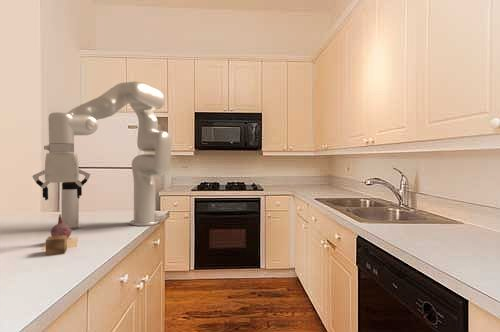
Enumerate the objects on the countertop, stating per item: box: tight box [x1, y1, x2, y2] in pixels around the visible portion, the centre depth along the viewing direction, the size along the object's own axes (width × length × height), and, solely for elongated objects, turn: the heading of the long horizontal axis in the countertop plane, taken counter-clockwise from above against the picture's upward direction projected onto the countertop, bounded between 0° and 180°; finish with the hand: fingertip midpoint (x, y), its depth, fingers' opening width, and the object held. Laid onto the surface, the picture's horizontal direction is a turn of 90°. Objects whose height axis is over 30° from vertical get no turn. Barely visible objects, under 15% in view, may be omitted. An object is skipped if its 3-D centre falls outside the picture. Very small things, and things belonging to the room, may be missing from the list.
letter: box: [41, 236, 79, 251], centre depth 116 cm, size 10×15×1 cm, turn 26°
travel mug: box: [61, 182, 80, 231], centre depth 141 cm, size 6×7×20 cm
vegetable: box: [50, 213, 72, 238], centre depth 116 cm, size 6×6×10 cm
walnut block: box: [45, 235, 68, 256], centre depth 104 cm, size 5×5×5 cm
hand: (62, 198), depth 116 cm, fingers open, 9 cm apart
